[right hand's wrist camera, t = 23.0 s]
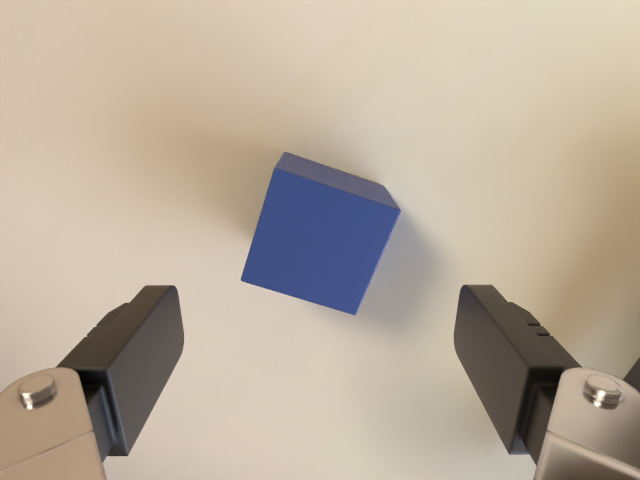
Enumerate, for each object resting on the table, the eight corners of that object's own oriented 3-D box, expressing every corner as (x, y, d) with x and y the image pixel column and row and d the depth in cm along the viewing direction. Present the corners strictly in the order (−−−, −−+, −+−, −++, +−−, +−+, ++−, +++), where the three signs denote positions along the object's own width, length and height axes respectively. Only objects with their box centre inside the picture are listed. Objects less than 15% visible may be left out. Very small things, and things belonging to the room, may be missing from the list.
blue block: (348, 272, 21) (355, 315, 17) (255, 243, 20) (240, 281, 16) (384, 185, 19) (401, 210, 15) (284, 151, 19) (274, 167, 15)
